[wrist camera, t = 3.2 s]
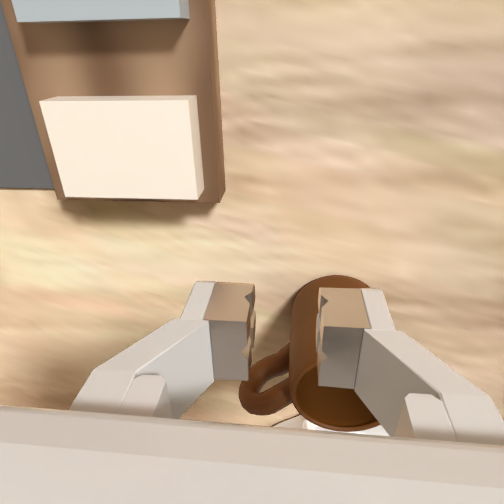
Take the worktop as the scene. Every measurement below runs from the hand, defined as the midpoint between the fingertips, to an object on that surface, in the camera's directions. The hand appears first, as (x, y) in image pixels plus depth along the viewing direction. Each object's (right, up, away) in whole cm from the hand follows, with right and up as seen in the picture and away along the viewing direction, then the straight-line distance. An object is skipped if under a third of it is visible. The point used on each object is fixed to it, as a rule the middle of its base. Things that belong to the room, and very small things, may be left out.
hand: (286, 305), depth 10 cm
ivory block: (-9, +8, +15) cm, 20 cm away
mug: (+4, -4, +24) cm, 25 cm away
